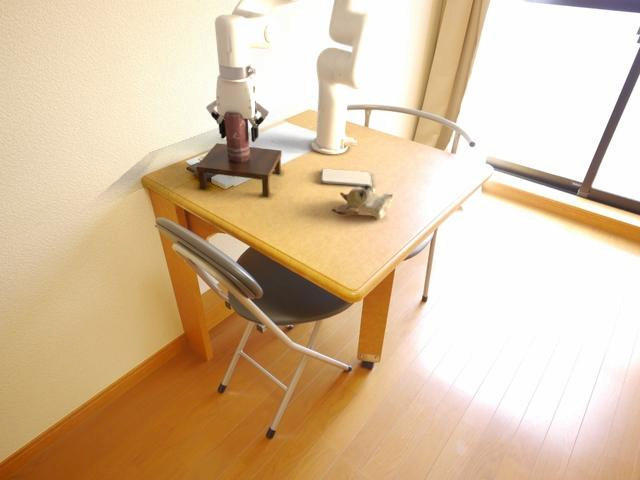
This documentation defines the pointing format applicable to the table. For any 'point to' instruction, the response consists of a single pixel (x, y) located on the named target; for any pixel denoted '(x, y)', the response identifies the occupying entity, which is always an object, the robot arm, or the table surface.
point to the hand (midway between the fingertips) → (239, 138)
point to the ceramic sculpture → (365, 202)
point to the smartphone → (346, 177)
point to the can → (237, 137)
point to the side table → (240, 165)
